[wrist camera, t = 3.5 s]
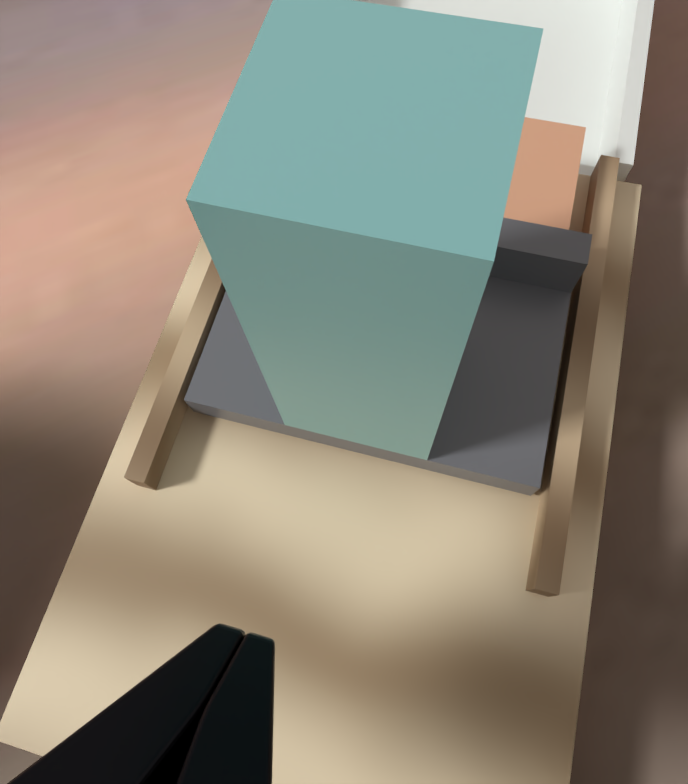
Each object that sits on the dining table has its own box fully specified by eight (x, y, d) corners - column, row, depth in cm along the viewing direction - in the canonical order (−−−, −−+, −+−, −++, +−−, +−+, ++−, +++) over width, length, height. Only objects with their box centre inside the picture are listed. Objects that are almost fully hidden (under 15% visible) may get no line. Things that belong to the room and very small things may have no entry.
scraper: (530, 495, 17) (755, 314, 7) (193, 411, 18) (-19, 158, 8) (565, 281, 19) (770, -80, 9) (265, 221, 20) (166, -152, 11)
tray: (601, 220, 23) (646, 142, 19) (276, 160, 25) (260, 77, 21) (633, -3, 27) (675, -103, 23) (354, -42, 29) (351, -140, 25)
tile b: (550, 268, 19) (568, 231, 18) (427, 244, 20) (433, 205, 18) (566, 171, 21) (586, 127, 19) (452, 151, 21) (459, 106, 19)
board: (525, 885, 16) (565, 954, 12) (43, 723, 18) (-32, 746, 14) (613, 229, 23) (654, 163, 20) (263, 163, 25) (246, 93, 21)
